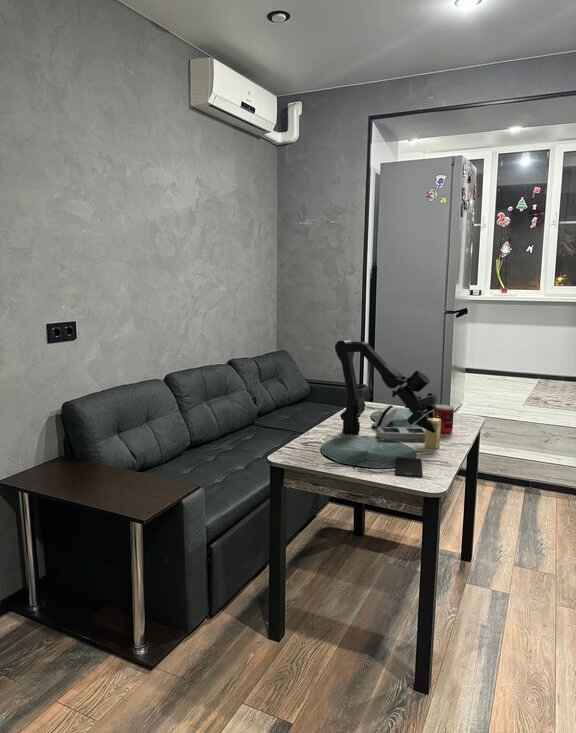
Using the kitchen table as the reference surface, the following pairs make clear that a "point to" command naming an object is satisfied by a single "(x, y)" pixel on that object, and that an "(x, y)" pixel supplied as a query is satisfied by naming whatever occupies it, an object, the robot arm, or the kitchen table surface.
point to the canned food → (445, 417)
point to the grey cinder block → (401, 433)
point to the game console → (385, 416)
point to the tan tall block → (433, 434)
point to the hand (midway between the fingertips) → (436, 430)
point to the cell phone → (408, 467)
